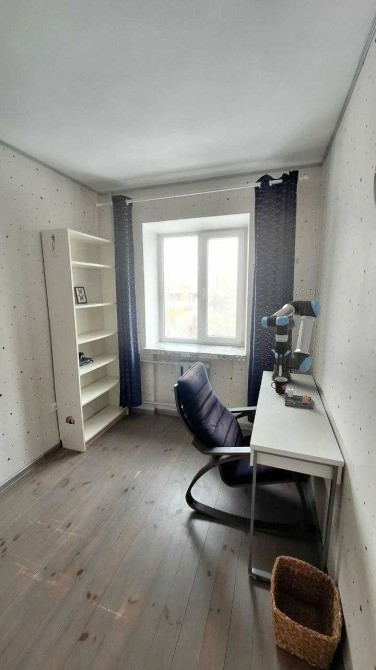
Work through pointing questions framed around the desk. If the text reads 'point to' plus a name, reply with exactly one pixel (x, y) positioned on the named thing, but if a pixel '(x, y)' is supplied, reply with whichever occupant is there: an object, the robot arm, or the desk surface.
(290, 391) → the fader cream
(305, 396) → the fader terracotta
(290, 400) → the console
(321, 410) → the desk surface
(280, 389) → the coffee mug
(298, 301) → the robot arm
